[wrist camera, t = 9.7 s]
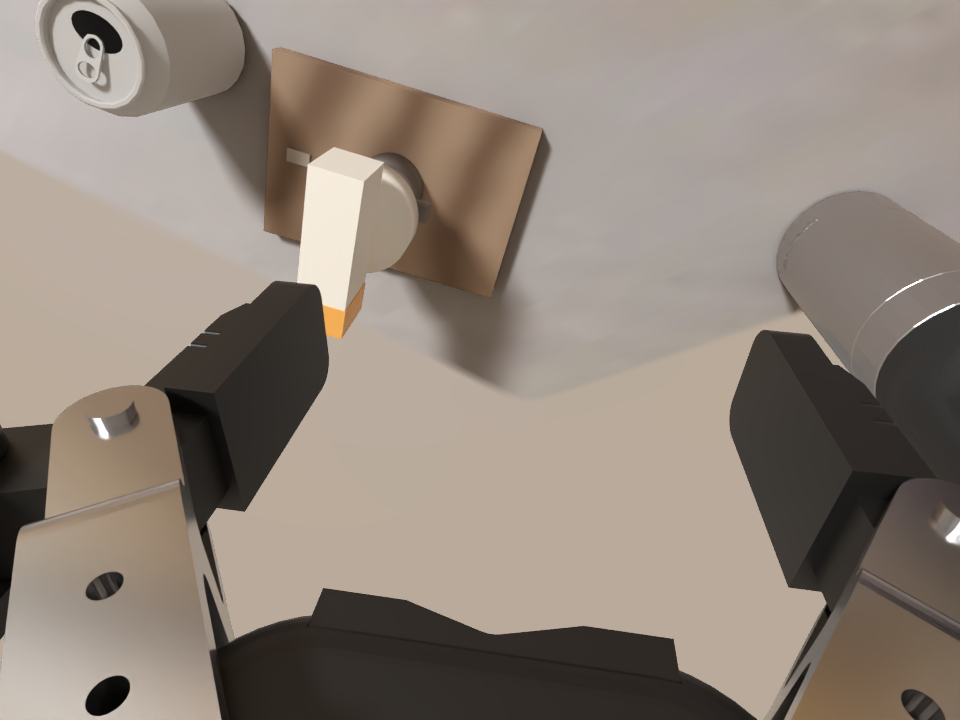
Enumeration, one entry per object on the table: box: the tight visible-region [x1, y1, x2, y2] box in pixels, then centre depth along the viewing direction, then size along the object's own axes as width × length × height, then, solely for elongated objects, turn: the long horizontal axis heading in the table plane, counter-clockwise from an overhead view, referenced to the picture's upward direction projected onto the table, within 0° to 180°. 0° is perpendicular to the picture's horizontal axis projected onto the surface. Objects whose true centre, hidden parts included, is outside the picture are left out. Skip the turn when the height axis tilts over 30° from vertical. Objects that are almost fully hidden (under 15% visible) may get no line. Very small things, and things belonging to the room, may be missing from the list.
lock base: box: [264, 47, 542, 298], centre depth 42 cm, size 20×14×8 cm
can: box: [35, 0, 245, 117], centre depth 37 cm, size 8×8×12 cm
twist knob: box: [297, 147, 419, 339], centre depth 36 cm, size 10×7×8 cm
